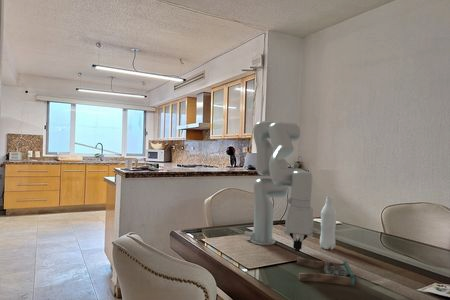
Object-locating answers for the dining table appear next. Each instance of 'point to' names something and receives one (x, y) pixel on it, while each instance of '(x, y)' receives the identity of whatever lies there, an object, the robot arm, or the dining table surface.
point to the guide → (325, 277)
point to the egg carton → (335, 270)
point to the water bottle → (328, 224)
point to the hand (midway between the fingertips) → (297, 250)
